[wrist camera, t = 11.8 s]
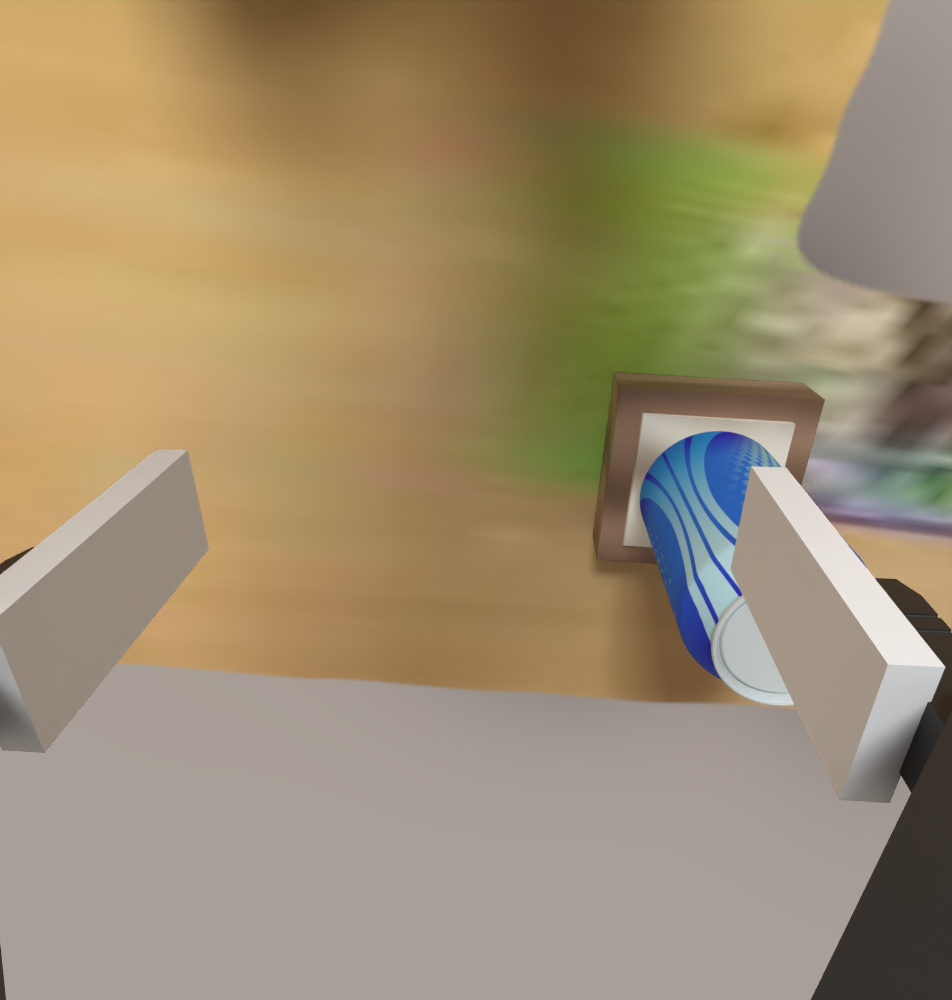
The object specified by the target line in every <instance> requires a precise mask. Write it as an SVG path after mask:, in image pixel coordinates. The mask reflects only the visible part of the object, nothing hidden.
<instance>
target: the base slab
mask: <svg viewBox="0 0 952 1000" xmlns="http://www.w3.org/2000/svg"><path fill="white" fill-rule="evenodd" d="M824 400H825V399H823V398H822V397H821V396H819V395H818V394H817V393H815V392H814V391H813V390H811V389H810V388H809V387H808V386H806V385H805V384H804V383H790V382H773V381H756V380H739V379H722V378H705V377H688V376H671V375H654V374H637V373H620V372H614V378H613V386H612V394H611V401H610V409H609V416H608V424H607V431H606V439H605V447H604V454H603V462H602V469H601V477H600V485H599V492H598V500H597V507H596V515H595V522H594V530H593V538H594V544H595V550H596V556H597V559H598V560H612V561H626V562H640V563H654V564H657V560H656V557H655V554H654V551H653V548H652V545H651V542H650V539H649V536H648V533H647V530H646V527H645V524H644V521H643V518H642V514H641V510H640V491H641V486H642V483H643V480H644V477H645V475H646V473H647V471H648V469H649V468H650V466H651V465H652V463H653V462H654V461H655V460H656V458H657V457H658V456H659V455H660V454H661V453H662V452H663V451H665V450H666V449H667V448H668V447H670V446H671V445H673V444H674V443H676V442H678V441H679V440H682V439H684V438H686V437H689V436H691V435H694V434H698V433H702V432H709V431H728V432H734V433H738V434H741V435H744V436H747V437H749V438H751V439H753V440H755V441H756V442H758V443H759V444H761V445H762V446H763V447H764V448H765V449H766V450H767V451H768V452H769V453H770V454H771V455H772V456H773V458H774V459H775V460H776V461H777V462H778V463H779V464H780V466H781V467H786V468H787V469H788V470H789V472H790V473H791V474H792V475H793V477H794V478H795V479H796V480H797V482H798V483H799V484H800V485H801V484H802V480H803V477H804V473H805V470H806V466H807V462H808V459H809V455H810V451H811V448H812V444H813V440H814V437H815V433H816V429H817V426H818V422H819V419H820V415H821V411H822V408H823V404H824Z"/></svg>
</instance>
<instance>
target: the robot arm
mask: <svg viewBox="0 0 952 1000" xmlns="http://www.w3.org/2000/svg"><path fill="white" fill-rule="evenodd" d="M208 549H209V548H208V543H207V538H206V534H205V529H204V524H203V520H202V515H201V510H200V505H199V501H198V496H197V491H196V487H195V482H194V477H193V473H192V468H191V463H190V459H189V454H188V450H165V449H156V450H155V451H154V452H153V453H151V454H150V455H149V456H148V457H146V458H145V459H144V460H143V461H141V462H140V463H139V464H138V465H136V466H135V467H134V468H133V469H131V470H130V471H129V472H128V473H126V474H125V475H124V476H123V477H121V478H120V479H119V480H118V481H116V482H115V483H114V484H113V485H111V486H110V487H109V488H108V489H107V490H105V491H104V492H103V493H102V494H100V495H99V496H98V497H97V498H95V499H94V500H93V501H92V502H90V503H89V504H88V505H87V506H85V507H84V508H83V509H82V510H80V511H79V512H78V513H77V514H75V515H74V516H73V517H72V518H70V519H69V520H68V521H67V522H65V523H64V524H63V525H62V526H60V527H59V528H58V529H57V530H55V531H54V532H53V533H52V534H50V535H49V536H48V537H47V538H45V539H44V540H43V541H42V542H40V543H39V544H38V545H37V546H35V547H32V548H30V549H28V550H26V551H24V552H22V553H20V554H18V555H16V556H13V557H11V558H9V559H7V560H5V561H4V562H3V563H1V564H0V747H1V749H2V750H9V751H26V752H42V753H44V752H46V750H47V749H48V748H49V747H50V745H51V744H52V743H53V742H54V740H55V739H56V738H57V737H58V735H59V734H60V733H61V731H63V729H64V728H65V727H66V726H67V724H68V723H69V722H70V721H71V719H72V718H73V717H74V716H75V714H76V713H77V712H78V710H79V709H80V708H81V707H82V706H83V704H84V703H85V702H86V701H87V699H88V698H89V697H90V696H91V695H92V693H93V692H94V691H95V690H96V688H97V687H98V686H99V684H100V683H101V682H102V681H103V680H104V678H105V677H106V676H107V675H108V673H109V672H110V671H111V670H112V668H113V667H114V666H115V665H116V664H117V662H118V661H119V660H120V659H121V657H122V656H123V655H124V654H125V652H126V651H127V650H128V649H129V647H130V646H131V645H132V644H133V642H134V641H135V640H136V639H137V637H138V636H139V635H140V634H141V632H142V631H143V630H144V629H145V628H146V626H147V625H148V624H149V623H150V621H151V620H152V619H153V618H154V616H155V615H156V614H157V613H158V611H159V610H160V609H161V608H162V606H163V605H164V604H165V603H166V601H167V600H168V599H169V598H170V596H171V595H172V594H173V593H174V592H175V590H176V589H177V588H178V587H179V585H180V584H181V583H182V582H183V580H184V579H185V578H186V577H187V575H188V574H189V573H190V572H191V570H192V569H193V568H194V567H195V565H196V564H197V563H198V562H199V560H200V559H201V558H202V557H203V556H204V554H205V553H206V552H207V551H208ZM730 569H731V572H732V574H733V576H734V578H735V580H736V582H737V584H738V586H739V588H740V591H741V593H742V595H743V597H744V599H745V601H746V603H747V605H748V608H749V610H750V612H751V614H752V616H753V618H754V620H755V622H756V624H757V627H758V629H759V631H760V633H761V635H762V637H763V639H764V641H765V644H766V646H767V648H768V650H769V652H770V654H771V656H772V658H773V660H774V663H775V665H776V667H777V669H778V671H779V673H780V675H781V677H782V680H783V682H784V684H785V686H786V688H787V690H788V692H789V694H790V696H791V699H792V701H793V703H794V705H795V707H796V709H797V711H798V713H799V715H800V718H801V720H802V722H803V724H804V726H805V728H806V730H807V732H808V734H809V737H810V739H811V741H812V743H813V745H814V747H815V749H816V751H817V753H818V756H819V758H820V760H821V762H822V764H823V766H824V768H825V770H826V772H827V774H828V777H829V779H830V781H831V783H832V785H833V787H834V789H835V792H836V794H837V796H838V798H839V800H850V801H866V802H883V803H890V801H891V798H892V796H893V794H894V791H895V789H896V786H897V784H898V781H899V779H900V776H902V777H903V779H904V781H905V783H906V784H907V786H908V788H909V790H910V791H911V795H910V797H909V799H908V802H907V803H906V805H905V807H904V810H903V811H902V814H901V816H900V818H899V820H898V822H897V824H896V826H895V828H894V830H893V832H892V834H891V836H890V838H889V840H888V842H887V845H886V846H885V848H884V851H883V853H882V855H881V857H880V859H879V861H878V863H877V865H876V867H875V869H874V871H873V873H872V875H871V877H870V879H869V882H868V883H867V886H866V888H865V890H864V892H863V894H862V896H861V898H860V900H859V902H858V904H857V906H856V908H855V910H854V912H853V914H852V916H851V918H850V921H849V923H848V925H847V927H846V929H845V931H844V933H843V935H842V937H841V939H840V941H839V943H838V945H837V947H836V949H835V952H834V953H833V955H832V958H831V960H830V962H829V964H828V966H827V968H826V970H825V972H824V974H823V976H822V978H821V980H820V982H819V985H818V986H817V988H816V990H815V992H814V994H813V997H812V999H811V1000H952V633H951V629H950V628H949V627H948V626H947V624H946V623H945V622H944V621H943V620H942V619H941V618H938V614H937V613H936V612H935V611H934V609H933V608H932V607H931V606H930V605H929V604H928V603H927V601H926V600H925V599H924V598H923V597H922V596H921V595H920V594H918V593H917V592H915V591H913V590H912V589H910V588H909V587H907V586H906V585H904V584H903V583H901V582H900V581H898V580H897V579H882V578H874V577H873V576H872V574H871V573H870V572H869V571H868V569H867V568H866V567H865V566H864V564H863V563H862V562H861V561H860V559H859V558H858V557H857V556H856V554H855V553H854V552H853V551H852V549H851V548H850V547H849V546H848V544H847V543H846V542H845V541H844V539H843V538H842V537H841V536H840V534H839V533H838V532H837V531H836V529H835V528H834V527H833V526H832V524H831V523H830V522H829V521H828V519H827V518H826V517H825V516H824V514H823V513H822V512H821V510H820V509H819V508H818V507H817V505H816V504H815V503H814V502H813V500H812V499H811V498H810V497H809V495H808V494H807V493H806V492H805V490H804V489H803V488H802V487H801V485H800V484H799V483H798V482H797V480H796V479H795V478H794V477H793V475H792V474H791V473H790V472H789V470H788V469H787V468H786V467H755V466H751V470H750V475H749V480H748V485H747V490H746V495H745V500H744V505H743V510H742V514H741V519H740V524H739V529H738V534H737V539H736V544H735V549H734V554H733V558H732V563H731V568H730ZM0 1000H6V997H5V986H4V976H3V966H2V957H1V947H0Z"/></svg>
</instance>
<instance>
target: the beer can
mask: <svg viewBox="0 0 952 1000" xmlns="http://www.w3.org/2000/svg"><path fill="white" fill-rule="evenodd" d="M751 466H755V467H781V466H780V464H779V463H778V462H777V461H776V460H775V459H774V458H773V456H772V455H771V454H770V453H769V452H768V451H767V450H766V449H765V448H764V447H763V446H762V445H761V444H759V443H758V442H756V441H755V440H753V439H751V438H749V437H747V436H744V435H741V434H738V433H734V432H728V431H709V432H702V433H698V434H694V435H691V436H689V437H686V438H684V439H682V440H679V441H678V442H676V443H674V444H673V445H671V446H670V447H668V448H667V449H666V450H665V451H663V452H662V453H661V454H660V455H659V456H658V457H657V458H656V460H655V461H654V462H653V463H652V465H651V466H650V468H649V469H648V471H647V473H646V475H645V477H644V480H643V483H642V486H641V491H640V510H641V514H642V518H643V521H644V524H645V527H646V530H647V533H648V536H649V539H650V542H651V545H652V548H653V551H654V554H655V557H656V560H657V564H658V567H659V570H660V573H661V576H662V579H663V582H664V585H665V588H666V591H667V594H668V597H669V600H670V603H671V606H672V609H673V612H674V615H675V618H676V621H677V624H678V627H679V630H680V634H681V636H682V639H683V641H684V643H685V645H686V647H687V649H688V651H689V652H690V654H691V655H692V657H693V658H694V659H695V660H696V661H697V662H698V663H699V664H700V665H701V666H702V667H703V668H704V669H705V670H707V671H708V672H710V673H711V674H712V675H714V676H716V677H718V678H719V679H722V681H723V682H724V683H725V684H726V685H727V686H728V687H729V688H730V689H732V690H733V691H734V692H736V693H737V694H739V695H740V696H742V697H744V698H746V699H748V700H751V701H754V702H757V703H761V704H766V705H773V706H794V703H793V701H792V699H791V696H790V694H789V692H788V690H787V688H786V686H785V684H784V682H783V680H782V677H781V675H780V673H779V671H778V669H777V667H776V665H775V663H774V660H773V658H772V656H771V654H770V652H769V650H768V648H767V646H766V644H765V641H764V639H763V637H762V635H761V633H760V631H759V629H758V627H757V624H756V622H755V620H754V618H753V616H752V614H751V612H750V610H749V608H748V605H747V603H746V601H745V599H744V597H743V595H742V593H741V591H740V588H739V586H738V584H737V582H736V580H735V578H734V576H733V574H732V572H731V569H730V568H731V563H732V558H733V554H734V549H735V544H736V539H737V534H738V529H739V524H740V519H741V514H742V510H743V505H744V500H745V495H746V490H747V485H748V480H749V475H750V470H751ZM840 536H841V535H840ZM841 537H842V536H841ZM844 541H845V540H844ZM845 542H846V541H845ZM846 543H847V542H846ZM847 544H848V543H847ZM848 546H849V544H848ZM849 547H850V546H849ZM850 548H851V547H850ZM851 549H852V548H851ZM852 551H853V552H854V553H855V551H854V550H853V549H852ZM855 554H856V553H855ZM856 556H857V557H858V558H859V559H860V557H859V556H858V555H857V554H856ZM860 561H861V562H862V563H863V561H862V560H861V559H860ZM863 564H864V563H863ZM864 566H865V564H864ZM865 567H866V566H865Z"/></svg>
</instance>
